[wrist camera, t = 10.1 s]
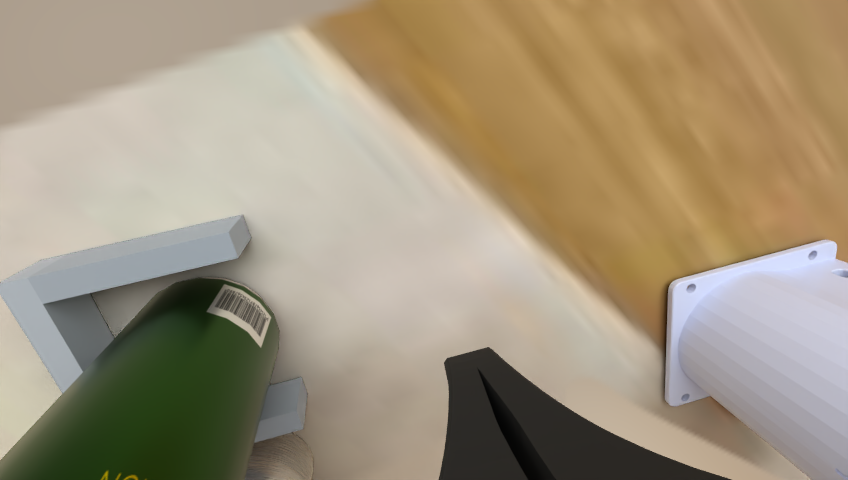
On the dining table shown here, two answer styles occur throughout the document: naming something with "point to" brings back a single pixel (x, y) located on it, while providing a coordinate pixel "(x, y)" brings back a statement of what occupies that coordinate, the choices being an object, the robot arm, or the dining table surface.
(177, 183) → the dining table surface
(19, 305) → the grey piece
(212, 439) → the beer can
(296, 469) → the metal billet
